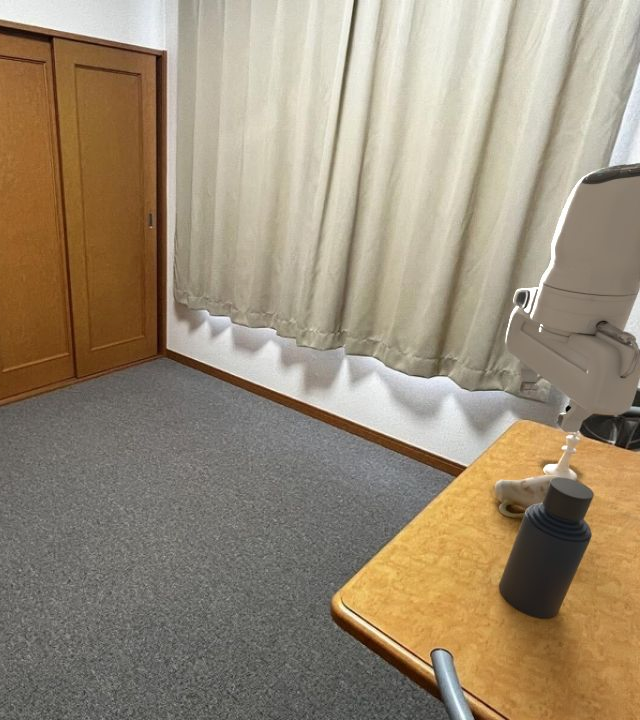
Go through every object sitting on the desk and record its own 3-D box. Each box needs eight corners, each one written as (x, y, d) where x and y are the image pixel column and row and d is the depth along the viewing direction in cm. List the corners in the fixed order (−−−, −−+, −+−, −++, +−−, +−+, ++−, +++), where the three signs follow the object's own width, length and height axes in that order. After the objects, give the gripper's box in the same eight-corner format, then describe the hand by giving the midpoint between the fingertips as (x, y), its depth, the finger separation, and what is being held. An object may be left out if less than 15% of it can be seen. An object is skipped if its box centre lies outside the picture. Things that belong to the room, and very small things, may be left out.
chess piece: (580, 476, 88) (599, 430, 84) (570, 486, 85) (589, 439, 81) (549, 464, 92) (565, 419, 88) (538, 473, 89) (555, 427, 85)
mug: (485, 486, 86) (531, 449, 82) (537, 528, 82) (588, 492, 78) (483, 499, 80) (532, 460, 76) (539, 545, 76) (593, 507, 72)
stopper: (571, 499, 60) (580, 478, 59) (593, 522, 56) (603, 500, 55) (535, 496, 61) (543, 475, 59) (554, 519, 57) (563, 497, 56)
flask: (540, 580, 67) (583, 476, 60) (569, 622, 61) (620, 512, 54) (489, 575, 68) (525, 472, 61) (513, 615, 62) (556, 506, 55)
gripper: (680, 341, 47) (629, 457, 52) (559, 288, 65) (530, 378, 71) (608, 339, 48) (565, 453, 54) (509, 287, 67) (484, 376, 72)
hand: (544, 410), depth 62 cm, fingers open, 8 cm apart
